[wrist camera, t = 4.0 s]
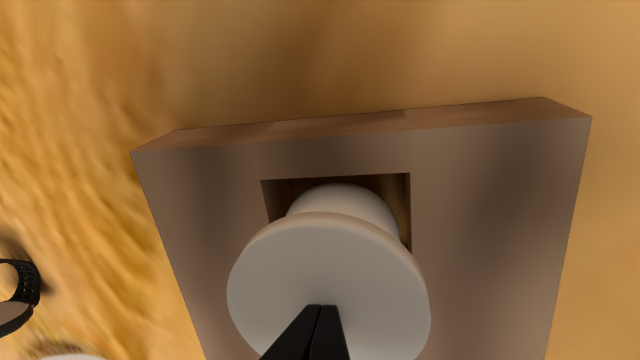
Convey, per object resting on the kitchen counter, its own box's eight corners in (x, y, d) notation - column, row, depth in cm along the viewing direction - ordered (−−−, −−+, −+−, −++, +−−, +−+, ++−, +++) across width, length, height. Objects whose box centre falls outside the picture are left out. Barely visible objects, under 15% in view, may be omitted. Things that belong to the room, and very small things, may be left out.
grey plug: (415, 161, 11) (431, 225, 7) (417, 293, 13) (430, 392, 9) (257, 170, 12) (203, 229, 8) (283, 290, 14) (249, 377, 11)
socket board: (544, 97, 12) (592, 116, 9) (493, 465, 21) (510, 530, 18) (174, 130, 15) (128, 151, 12) (269, 438, 24) (254, 489, 21)
